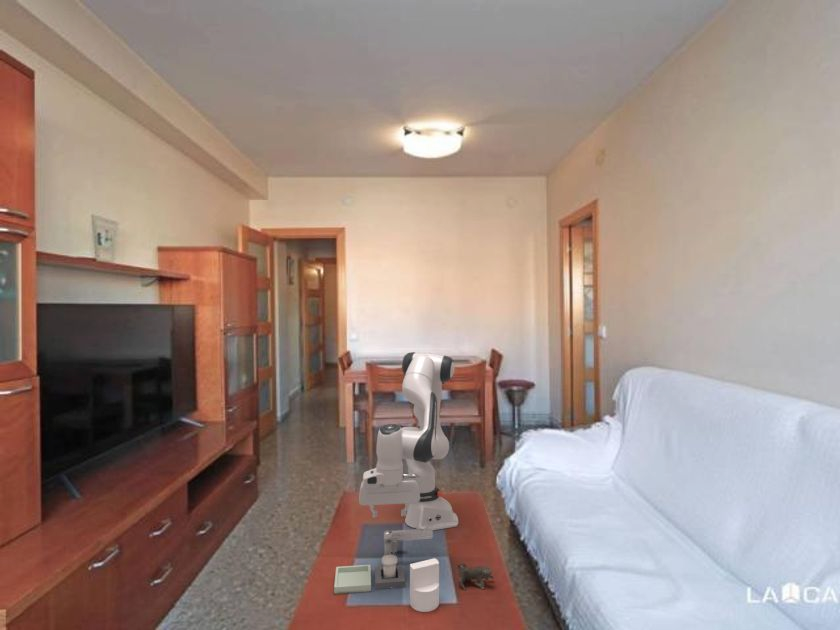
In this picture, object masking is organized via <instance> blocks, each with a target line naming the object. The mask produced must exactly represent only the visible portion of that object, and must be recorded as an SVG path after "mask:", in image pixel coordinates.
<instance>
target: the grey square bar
mask: <svg viewBox="0 0 840 630" xmlns="http://www.w3.org/2000/svg"><path fill="white" fill-rule="evenodd" d="M433 536H434V530H433V529H432V528H426V529H416V528H412V529H401V530H400V529H398V530H397V529H396V530H391V529H389V530H384V531H383V542H384V543H385V542H386V543H389V542H391V541H400V542H402V541H403V542H404V541H417V540H418V541H419V540H429V539H430V540H431V539H433V538H434V537H433Z"/></svg>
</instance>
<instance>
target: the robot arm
mask: <svg viewBox="0 0 840 630" xmlns="http://www.w3.org/2000/svg"><path fill="white" fill-rule="evenodd" d="M455 368H456V367H455V363H454V360H453V358H452V357H450V356H447V355H440V354H436V353H430V352H429V353H426V352H424V353H423V352H414V351H413V352H407V353H406V354H404V356H403V358H402V362H401V371H402V373H403V375H404V377H403V381H402V385H401V391H402V394H403V396H404V398H405V399H407V401H408V402H410V403H411V404H413V409H412V411H413V416H414V417H415V418H416V419H417V420H418V424H419V427H415V426H404V427H401V425H398V424H396V423H388V424H384V425H382V426H380V427H379V429H378V432H377V438H376V457H377V462H376V465H375V466H376V467H375V468H372V469H369V470H367V471H364V472H363V475H362V481H361V483H360V487H359V488H360V489H359V494H358V503H359V505H360V506H369V509H370V511H371V512H372V518H373V519H375V518H378V510H375V506H379V505H403V504H404V507H403V508H402V509H401V510H400V514H401V517H405V519H404V522H405V524H406V525H407V526H409V527H411V528H412V529H426V528H432V529H433V531H438V530H444V529H450V528H456V527H458V526H459V517H458V515H457V513H455V512H454V510H453V507H452V505H451V503H449V501H448V500H446V499H445V498H444V497H442V496H443V492H442V491H441V490H440V488H439V487H438V486H436V471H435V468H434V466H433V465H432V464H431V462H430V461H431V460H443V459H444V458H445V457H446V456H447V455H448V453H449V450H450V441H449V439H448V437H447V436H446V435H445V433H444V431H443V429H442V425H441V419H440V412H441V411H440V410H441V400H442V393H443V391H442V390H443V388H442V387H443V385H445V383H447V382H449V381H450V380H452V378H453V375H454V374H455V371H456V370H455ZM403 460H405V462H406V465H407V469H408V470H407V471H408V473H406V474H405V473H404V463H403Z"/></svg>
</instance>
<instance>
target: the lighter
mask: <svg viewBox="0 0 840 630" xmlns="http://www.w3.org/2000/svg"><path fill="white" fill-rule="evenodd" d="M398 544H401V541H391V552H396V551H397V552H398ZM397 552H396V553H397Z"/></svg>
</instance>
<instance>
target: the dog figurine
mask: <svg viewBox="0 0 840 630" xmlns="http://www.w3.org/2000/svg"><path fill="white" fill-rule="evenodd" d="M492 573H493V570H492V569H491V568H489V567H487V566H483V565H482V566H480V565H479V566H476V567H467V565H466V564H465V563H463V562H459V563H458V564H457V574H458V577H459V578H458V584H459V585H460V586H461V588H462V589H463V591H467V587H465V585H464V581H465V582H472V581H474V582H473V584H474V585H475V586H476V587H477V588H480V589H481V590H484V589H485V581H489V578H490V579H494V578H495V577H494V576H493V574H492ZM484 580H485V581H484Z"/></svg>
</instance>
